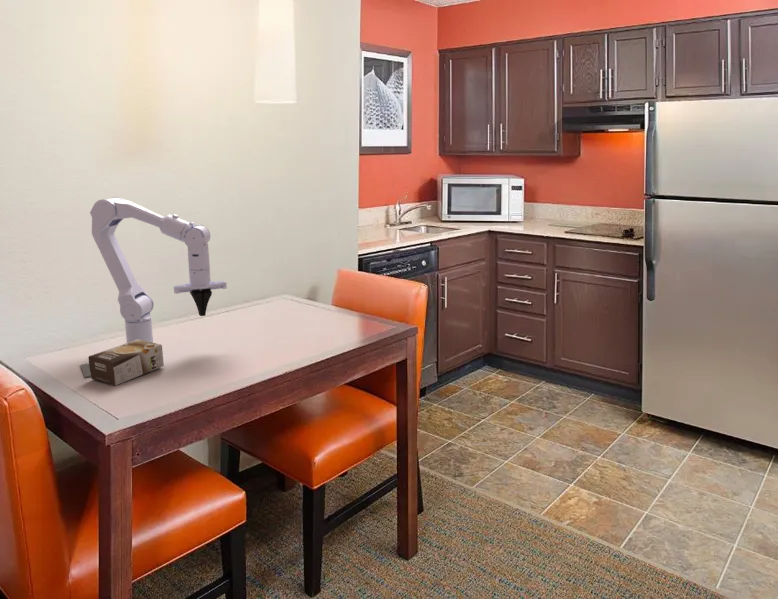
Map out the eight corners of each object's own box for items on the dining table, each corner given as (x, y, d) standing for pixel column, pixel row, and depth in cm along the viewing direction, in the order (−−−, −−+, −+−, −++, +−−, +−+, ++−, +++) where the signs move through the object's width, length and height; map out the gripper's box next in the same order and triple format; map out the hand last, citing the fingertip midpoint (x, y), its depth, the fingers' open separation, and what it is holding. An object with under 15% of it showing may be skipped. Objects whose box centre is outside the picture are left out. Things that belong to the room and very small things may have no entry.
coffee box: (162, 343, 181) (113, 362, 167) (164, 366, 183) (115, 386, 169) (137, 338, 185) (87, 356, 172) (139, 360, 187) (90, 379, 173)
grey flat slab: (80, 366, 184) (80, 364, 184) (134, 358, 191) (134, 356, 191) (85, 378, 175) (84, 376, 175) (142, 369, 182) (142, 367, 182)
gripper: (176, 273, 187) (179, 321, 190) (228, 268, 194) (231, 315, 197) (170, 269, 193) (174, 315, 196) (221, 264, 200) (224, 310, 203)
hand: (202, 315), depth 197 cm, fingers closed
